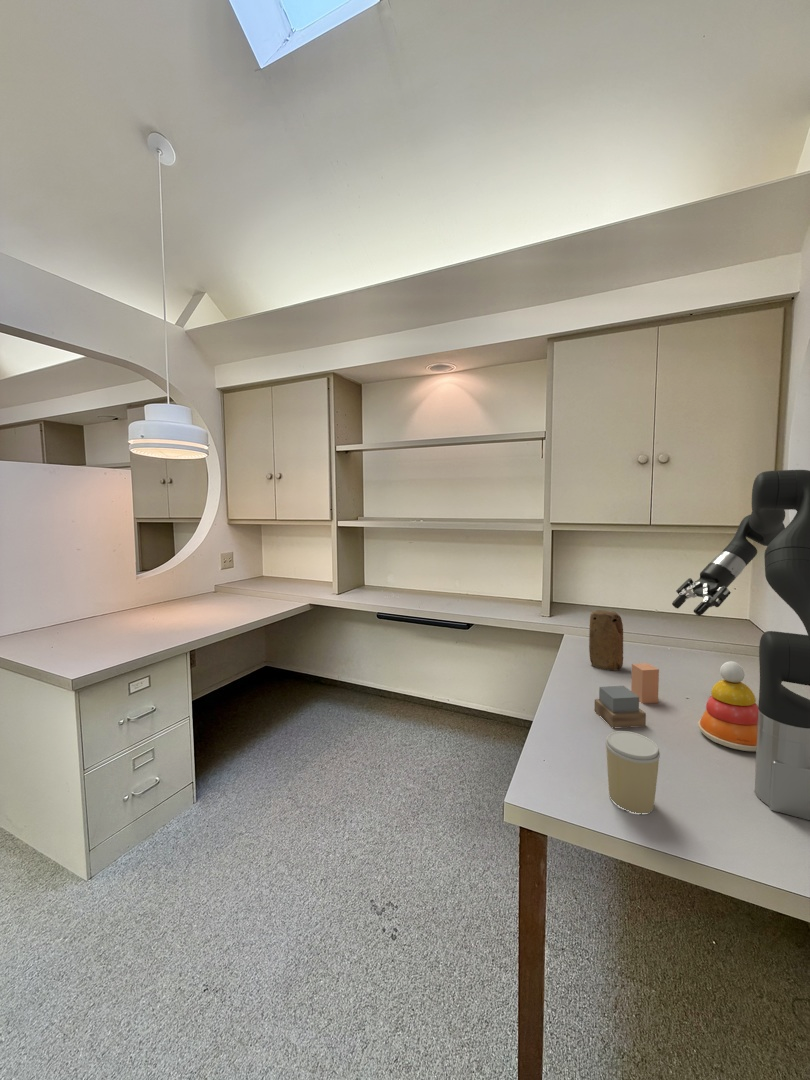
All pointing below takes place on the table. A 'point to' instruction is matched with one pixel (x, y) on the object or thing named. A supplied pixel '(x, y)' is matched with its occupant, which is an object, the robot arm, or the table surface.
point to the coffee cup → (632, 770)
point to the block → (606, 640)
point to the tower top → (619, 699)
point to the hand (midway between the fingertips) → (685, 610)
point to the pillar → (645, 682)
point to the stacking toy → (731, 711)
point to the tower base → (620, 716)
